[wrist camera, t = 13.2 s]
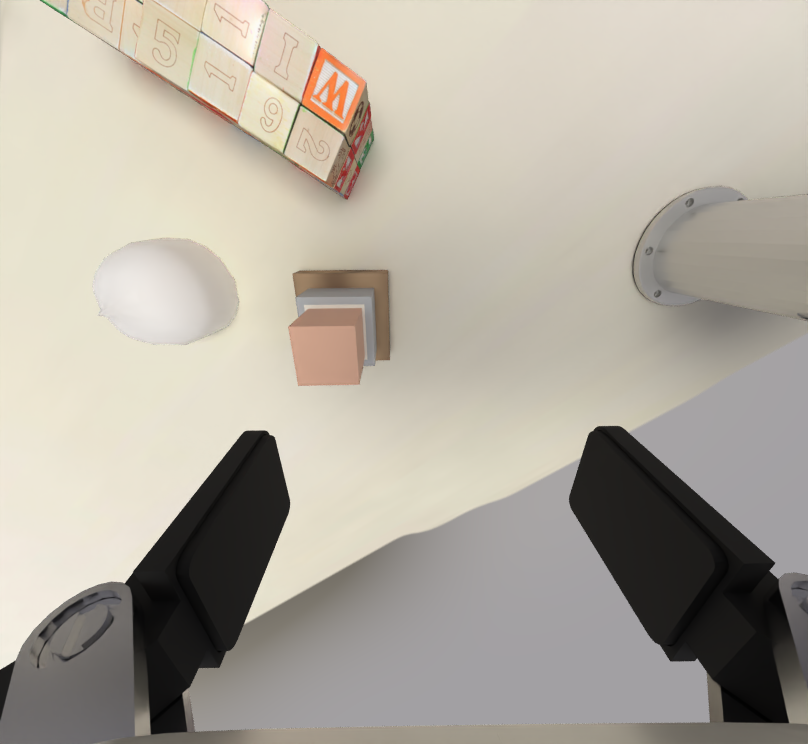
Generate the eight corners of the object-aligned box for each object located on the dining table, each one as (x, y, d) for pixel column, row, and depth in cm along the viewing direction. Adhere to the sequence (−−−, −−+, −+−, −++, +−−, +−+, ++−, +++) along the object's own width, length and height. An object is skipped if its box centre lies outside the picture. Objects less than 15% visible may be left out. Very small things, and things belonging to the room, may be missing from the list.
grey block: (374, 287, 32) (371, 296, 28) (376, 348, 35) (374, 365, 31) (308, 288, 32) (295, 297, 27) (316, 349, 35) (305, 367, 30)
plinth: (387, 270, 34) (387, 273, 32) (389, 351, 39) (389, 360, 36) (300, 270, 34) (292, 273, 31) (311, 352, 38) (305, 361, 36)
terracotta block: (361, 308, 28) (355, 325, 23) (364, 357, 30) (359, 384, 25) (308, 308, 28) (288, 326, 22) (314, 358, 30) (298, 385, 24)
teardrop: (116, 248, 32) (-22, 256, 22) (213, 227, 32) (121, 223, 21) (169, 342, 37) (77, 388, 26) (254, 325, 37) (197, 364, 26)
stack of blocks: (128, 59, 26) (-66, -70, 15) (142, -31, 24) (-72, -259, 13) (348, 201, 31) (325, 183, 20) (376, 138, 29) (368, 79, 18)
